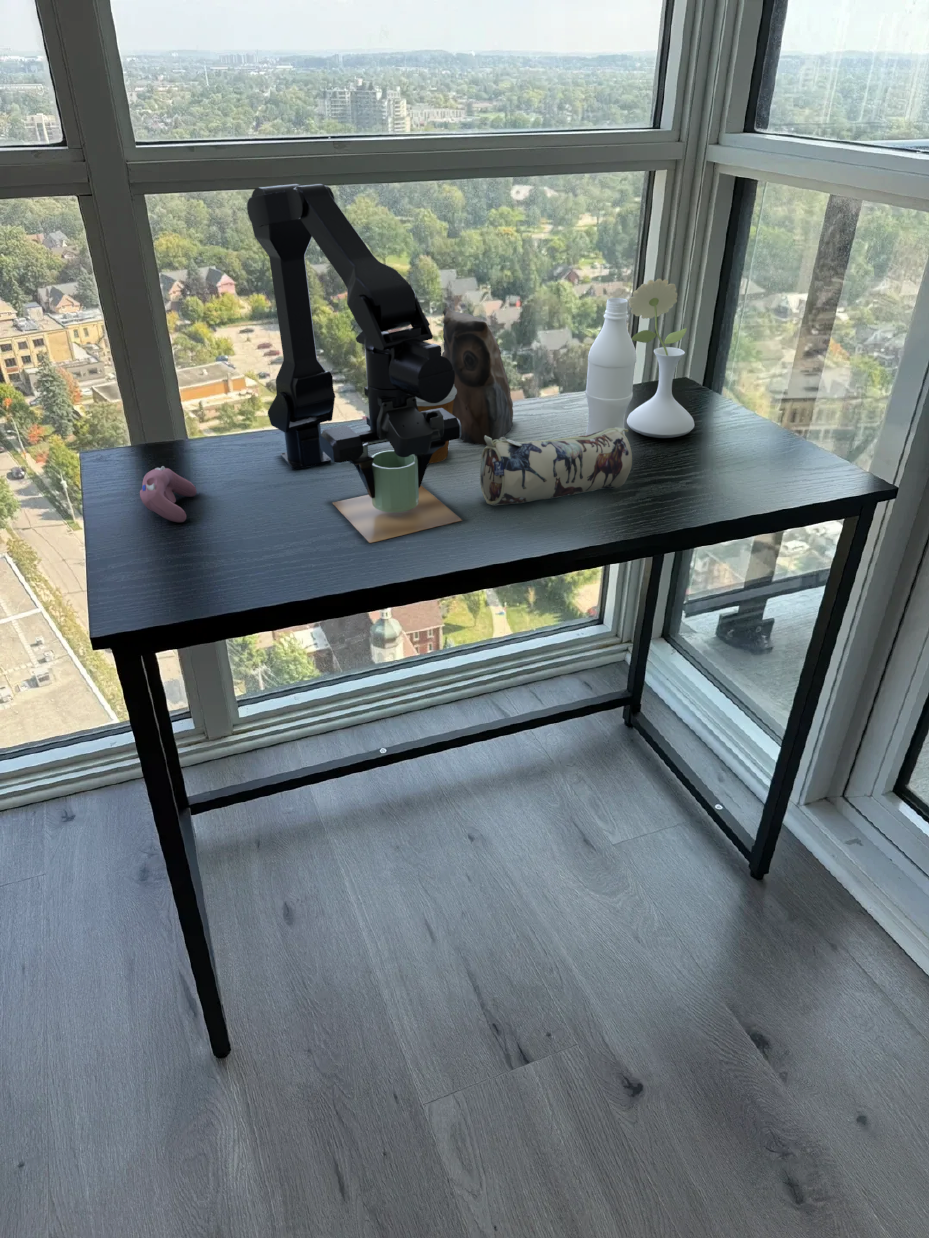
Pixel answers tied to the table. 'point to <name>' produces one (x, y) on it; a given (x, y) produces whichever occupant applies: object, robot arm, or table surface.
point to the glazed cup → (395, 482)
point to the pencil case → (553, 466)
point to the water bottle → (610, 370)
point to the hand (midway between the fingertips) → (394, 492)
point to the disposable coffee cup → (445, 404)
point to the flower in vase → (662, 409)
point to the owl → (477, 378)
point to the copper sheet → (395, 517)
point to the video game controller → (165, 493)
